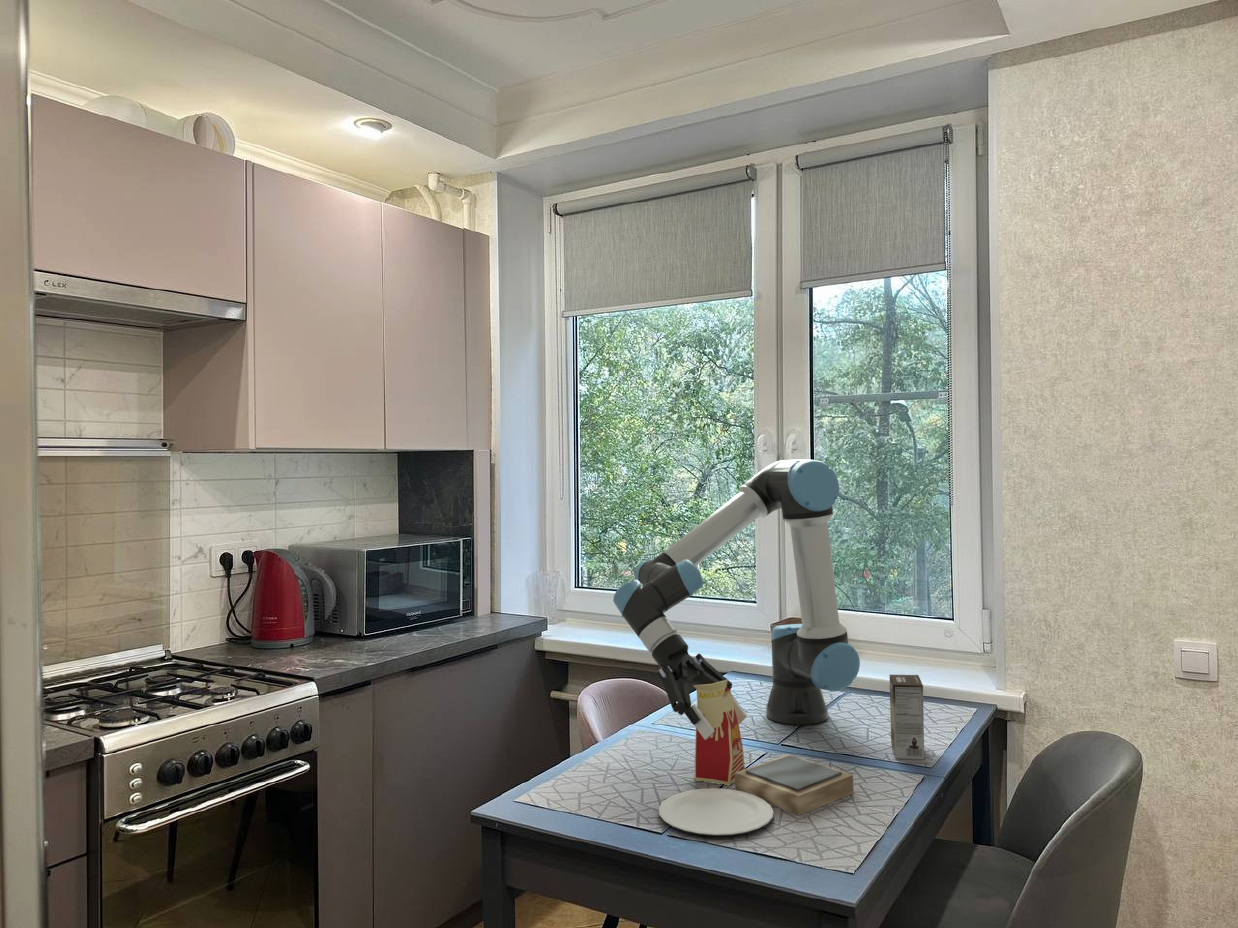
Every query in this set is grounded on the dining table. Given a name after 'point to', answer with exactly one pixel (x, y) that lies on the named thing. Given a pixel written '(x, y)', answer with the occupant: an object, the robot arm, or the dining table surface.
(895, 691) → the coffee box
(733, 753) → the milk carton
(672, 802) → the plate
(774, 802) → the oak plinth
